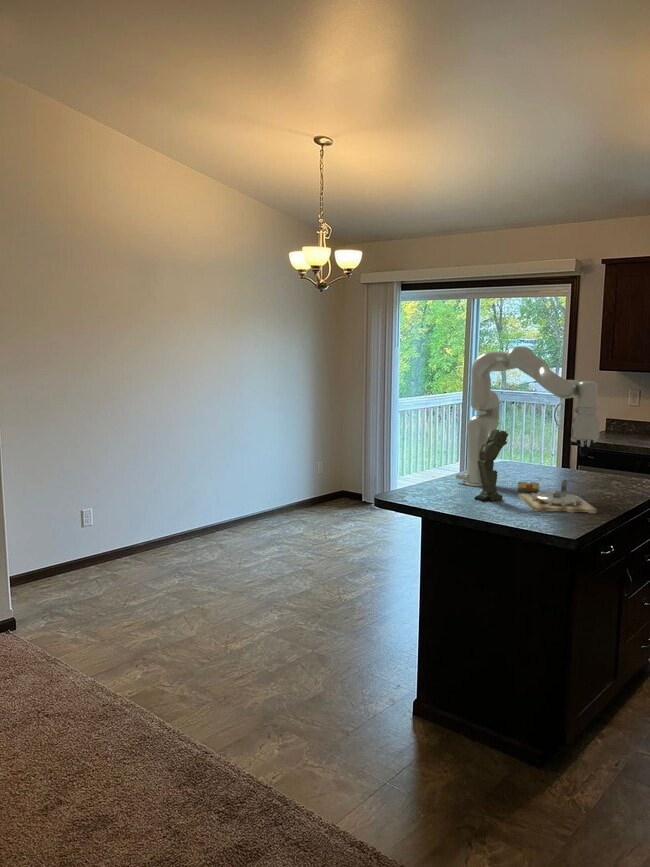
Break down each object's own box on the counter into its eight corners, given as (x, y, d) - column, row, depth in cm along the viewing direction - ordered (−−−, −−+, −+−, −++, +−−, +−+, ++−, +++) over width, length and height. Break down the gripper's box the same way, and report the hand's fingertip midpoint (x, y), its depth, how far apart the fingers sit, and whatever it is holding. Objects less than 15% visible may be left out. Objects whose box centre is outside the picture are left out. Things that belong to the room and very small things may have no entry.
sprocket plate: (533, 511, 260) (533, 506, 260) (518, 497, 284) (518, 493, 284) (596, 513, 259) (597, 508, 259) (576, 499, 283) (577, 495, 283)
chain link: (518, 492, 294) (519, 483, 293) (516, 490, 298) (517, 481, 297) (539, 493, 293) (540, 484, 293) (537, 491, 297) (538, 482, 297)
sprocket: (538, 505, 262) (539, 488, 261) (524, 493, 283) (525, 478, 282) (588, 506, 261) (589, 490, 261) (571, 495, 282) (572, 479, 281)
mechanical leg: (476, 501, 271) (494, 427, 270) (465, 497, 277) (482, 425, 277) (502, 506, 277) (519, 434, 277) (490, 502, 284) (507, 432, 283)
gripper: (570, 411, 274) (567, 457, 276) (608, 412, 273) (605, 457, 276) (564, 410, 281) (562, 454, 284) (601, 411, 281) (598, 454, 283)
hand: (583, 455), depth 280 cm, fingers closed
